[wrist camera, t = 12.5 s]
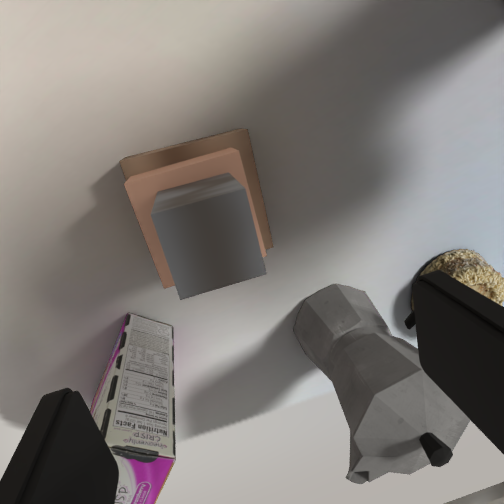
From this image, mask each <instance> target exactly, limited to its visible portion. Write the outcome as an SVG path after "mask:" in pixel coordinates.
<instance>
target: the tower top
mask: <svg viewBox="0 0 504 504" xmlns="http://www.w3.org/2000/svg"><path fill="white" fill-rule="evenodd" d="M228 172H229V173H230V174H231V175H232V176H233V177H234V178H235V179H236V180H237V181H238V182H239V183H240V184H241V185H242V186H244V187H245V189H246V193H247V197H248V201H249V205H250V209H251V213H252V217H253V221H254V225H255V229H256V233H257V237H258V241H259V245H260V249H261V253H262V257H265V256H267V255H266V251H265V247H264V243H263V240H262V236H261V232H260V228H259V224H258V221H257V217H256V213H255V209H254V206H253V202H252V198H251V194H250V190H249V187H248V183H247V179H246V175H245V172H244V168H243V164H242V160H241V157H240V153H239V150H236V149H234V148H231V147H230V148H227V149H223V150H220V151H216V152H213V153H209V154H206V155H203V156H199V157H196V158H192V159H189V160H185V161H182V162H178V163H175V164H171V165H168V166H164V167H161V168H158V169H154V170H151V171H147V172H144V173H140V174H137V175H133V176H130V178H129V179H128V180H127V181H126V182H125V183H124V186H125V189H126V191H127V194H128V196H129V199H130V201H131V204H132V207H133V209H134V212H135V214H136V217H137V220H138V222H139V225H140V227H141V230H142V233H143V235H144V238H145V240H146V243H147V245H148V248H149V251H150V253H151V256H152V258H153V261H154V264H155V266H156V269H157V271H158V274H159V277H160V279H161V282H162V284H163V287H164V289H165V288H168V287H171V286H174V285H175V283H174V281H173V278H172V275H171V272H170V269H169V266H168V263H167V260H166V258H165V255H164V252H163V249H162V246H161V243H160V240H159V237H158V235H157V232H156V229H155V226H154V223H153V220H152V217H151V212H152V208H153V205H154V202H155V198H156V195H157V192H158V191H162V190H165V189H169V188H173V187H176V186H180V185H184V184H187V183H191V182H195V181H198V180H202V179H206V178H209V177H213V176H217V175H220V174H224V173H228Z"/></svg>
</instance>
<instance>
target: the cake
mask: <svg viewBox="0 0 504 504" xmlns="http://www.w3.org/2000/svg"><path fill="white" fill-rule="evenodd" d="M436 270H440V271H443V272H444V273H446V274H448V275H449V276H451V277H453V278H455V279H456V280H458V281H460V282H461V283H463V284H465V285H467V286H468V287H470V288H472V289H474V290H475V291H477V292H479V293H480V294H482V295H484V296H486V297H487V298H489V299H491V300H493V301H494V302H496V303H498V304H499V305H501V306H502V302H503V301H504V278H502V277H501V274H500V272H499V273H498V272H497V271H495V269H494V268H493V267H492V266H491V265H488V263H487V262H486V261H485V259H484V258H483V257H482V256H480V254H478V253H476V252H475V251H472V250H471V251H470V250H468V249H466V250H465V249H464V250H463V249H459V250H452V251H451V252H446V253H445V254H443V255H440V256H438V257H437V258H436V259H435V260H433V261H432V263H430V264H429V265H428V266H426V268H425V269H424V270H423V272H421V274H420V275H424V274H427V273H430V272H433V271H436ZM411 301H412V302H411V307H412V308H411V309H412V311H414V302H413V293H412V299H411Z"/></svg>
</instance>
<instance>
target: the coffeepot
mask: <svg viewBox="0 0 504 504" xmlns="http://www.w3.org/2000/svg"><path fill="white" fill-rule="evenodd" d="M415 324H416V322H415V312H414V311H413V312H412V313H411V314H410V315H409V316H408V318H407V319H406V320H405V325H406V326H407V328H408V329H411V327H413V326H414V325H415ZM293 330H294V332H295V334H296V336H297V338H298V340H299V342H300V344H301V346H302V348H303V350H304V352H305V354H306V355H307V356H308V357H309V358H310V359H311V360H312V361H313V362H314V363H315V364H316V365H317V366H318V368H319V369H320V370H321V371H322V372H323V373H324V374H325V375H326V376H327V377H328V378H329V379H330V380H331V381H332V383H333V385H334V388H335V391H336V393H337V396H338V399H339V401H340V404H341V406H342V409H343V412H344V415H345V417H346V420H347V422H348V425H349V428H350V467H349V471H348V474H347V476H346V478H347V479H348V480H350V481H351V482H354V483H357V484H363V483H365V482H366V481H369V482H371V481H372V480H374V479H376V478H378V477H380V476H382V475H384V474H386V473H388V472H393V473H403V474H411V473H413V472H415V471H417V470H419V469H421V468H423V467H425V466H426V465H428V464H430V463H431V465H432V466H437V467H441V466H443V465H444V464H446V463H448V462H449V460H450V459H451V457H452V455H453V454H452V451H453V449H454V447H455V446H456V444H457V442H458V440H459V439H460V437H461V435H462V434H463V432H464V430H465V428H466V427H467V425H468V423H469V422H470V419H469V418H468V417H467V416H466V415H465V414H464V413H463V412H462V411H461V410H460V409H459V408H458V406H457V405H456V404H455V403H454V402H453V401H452V400H451V399H450V398H449V397H448V396H447V395H446V394H445V393H444V392H443V391H442V390H441V389H440V388H439V387H438V386H437V385H436V384H435V383H434V382H433V381H432V380H431V378H430V377H429V376H428V375H427V374H426V373H425V372H424V370H423V369H422V367H421V364H420V361H419V352H418V349H417V348H415V347H414V346H412V345H411V344H409V343H408V342H406V341H405V340H403V339H400V338H397V337H394V336H392V334H391V332H390V330H389V328H388V326H387V325H386V323H385V322H384V320H383V318H382V317H381V315H380V314H379V312H378V311H377V309H376V308H375V306H374V305H373V303H372V302H371V300H370V299H369V297H368V296H367V294H366V292H365V291H361V290H358V289H355V288H352V287H349V286H343V285H339V284H333V285H331V286H329V287H326V288H324V289H322V290H319V291H318V292H316V293H315V294H313V295H312V296H311V297H309V298H307V299H306V300H305V301H304V303H303V305H302V307H301V309H300V311H299V313H298V316H297V319H296V323H295V326H294V328H293Z"/></svg>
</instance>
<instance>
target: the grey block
mask: <svg viewBox="0 0 504 504" xmlns="http://www.w3.org/2000/svg"><path fill="white" fill-rule="evenodd" d="M151 217H152V220H153V223H154V226H155V229H156V232H157V235H158V237H159V240H160V243H161V246H162V249H163V252H164V255H165V258H166V260H167V263H168V266H169V269H170V272H171V275H172V278H173V281H174V283H175V286H176V289H177V292H178V295H179V298H180V300H182V299H185V298H189V297H192V296H195V295H199V294H202V293H205V292H209V291H212V290H215V289H219V288H222V287H225V286H229V285H232V284H235V283H239V282H242V281H245V280H249V279H252V278H255V277H258V276H262V275H265V274H266V269H265V265H264V261H263V257H262V253H261V249H260V245H259V241H258V237H257V233H256V229H255V225H254V221H253V217H252V213H251V209H250V205H249V201H248V197H247V193H246V189H245V187H244V186H242V185H241V184H240V183H239V182H238V181H237V180H236V179H235V178H234V177H233V176H232V175H231V174H230V173H229V172H228V173H224V174H220V175H217V176H213V177H209V178H206V179H202V180H198V181H195V182H191V183H187V184H184V185H180V186H176V187H173V188H169V189H165V190H162V191H158V192H157V195H156V198H155V202H154V205H153V208H152V212H151Z"/></svg>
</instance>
